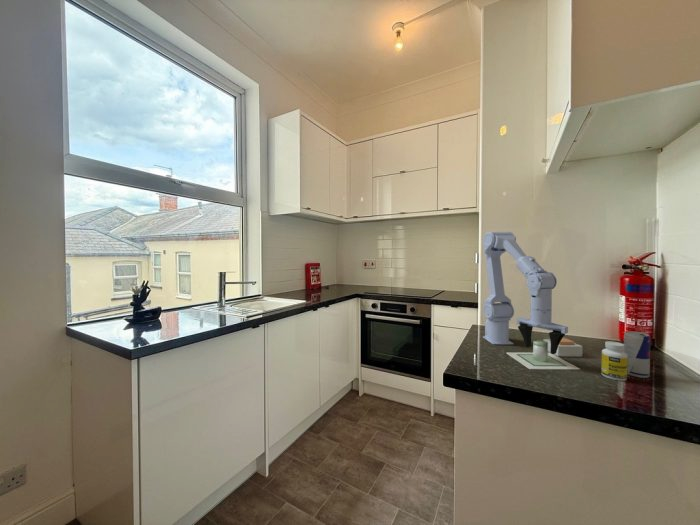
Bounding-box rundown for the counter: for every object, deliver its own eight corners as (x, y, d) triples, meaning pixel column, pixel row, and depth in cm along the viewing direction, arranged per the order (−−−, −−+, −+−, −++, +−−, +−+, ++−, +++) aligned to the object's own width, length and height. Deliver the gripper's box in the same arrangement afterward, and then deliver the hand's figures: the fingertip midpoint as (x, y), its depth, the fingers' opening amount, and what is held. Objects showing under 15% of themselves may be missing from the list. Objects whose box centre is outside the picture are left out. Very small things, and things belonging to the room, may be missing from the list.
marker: (530, 357, 95) (530, 339, 94) (542, 357, 94) (542, 339, 94) (537, 362, 91) (537, 343, 90) (550, 362, 90) (550, 343, 90)
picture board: (506, 353, 100) (506, 352, 100) (549, 353, 99) (549, 352, 99) (529, 369, 86) (529, 368, 86) (580, 369, 85) (580, 368, 85)
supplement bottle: (606, 379, 78) (607, 345, 78) (597, 372, 83) (598, 339, 83) (631, 382, 77) (632, 347, 76) (620, 374, 82) (621, 341, 81)
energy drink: (655, 379, 79) (656, 336, 78) (632, 377, 80) (633, 335, 79) (639, 371, 84) (640, 331, 83) (618, 369, 85) (619, 330, 84)
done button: (550, 344, 102) (550, 337, 102) (564, 344, 102) (564, 337, 102) (559, 348, 98) (560, 341, 98) (574, 348, 97) (574, 341, 97)
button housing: (543, 348, 104) (543, 339, 104) (565, 348, 104) (565, 339, 104) (558, 356, 96) (558, 346, 96) (582, 356, 96) (582, 346, 96)
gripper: (511, 306, 96) (511, 345, 97) (560, 314, 84) (560, 359, 84) (522, 304, 100) (522, 342, 100) (571, 311, 87) (570, 354, 88)
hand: (540, 350), depth 92 cm, fingers open, 7 cm apart
